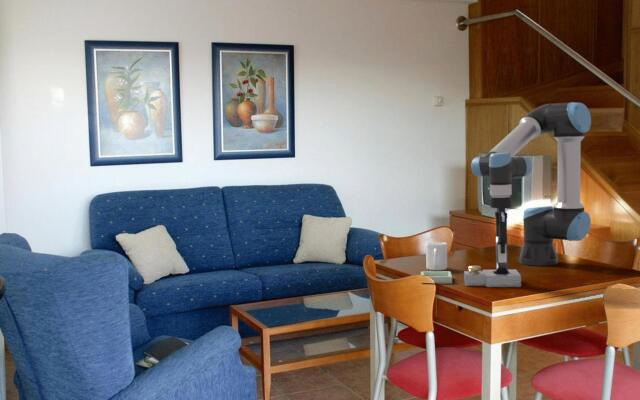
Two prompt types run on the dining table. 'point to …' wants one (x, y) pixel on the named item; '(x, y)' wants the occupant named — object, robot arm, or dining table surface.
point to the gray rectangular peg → (500, 267)
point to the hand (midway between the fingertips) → (501, 260)
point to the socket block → (493, 278)
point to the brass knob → (474, 269)
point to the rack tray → (439, 276)
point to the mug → (436, 255)
